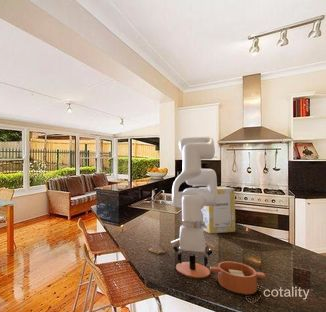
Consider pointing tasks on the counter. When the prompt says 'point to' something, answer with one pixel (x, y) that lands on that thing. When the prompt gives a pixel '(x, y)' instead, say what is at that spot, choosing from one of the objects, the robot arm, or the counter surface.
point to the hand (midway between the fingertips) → (192, 263)
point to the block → (236, 272)
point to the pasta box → (220, 212)
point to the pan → (237, 277)
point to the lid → (192, 268)
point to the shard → (157, 249)
